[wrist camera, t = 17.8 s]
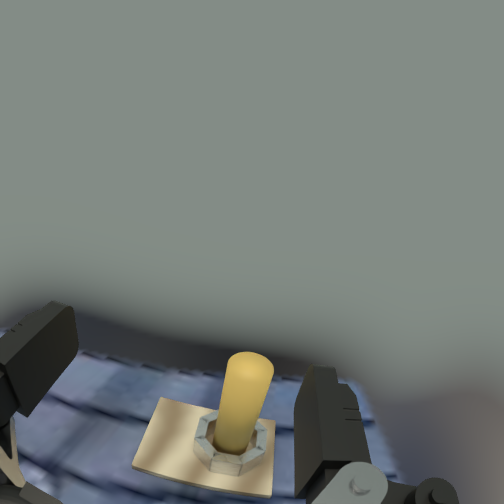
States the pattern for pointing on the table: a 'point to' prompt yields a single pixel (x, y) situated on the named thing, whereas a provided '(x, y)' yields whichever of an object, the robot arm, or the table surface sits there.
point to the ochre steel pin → (241, 401)
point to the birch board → (186, 462)
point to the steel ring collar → (224, 461)
